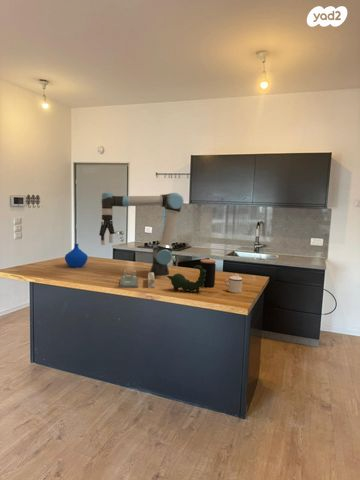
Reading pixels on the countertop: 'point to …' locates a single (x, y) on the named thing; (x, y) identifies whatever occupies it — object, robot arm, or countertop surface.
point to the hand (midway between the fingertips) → (107, 243)
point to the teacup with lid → (234, 284)
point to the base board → (129, 285)
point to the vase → (76, 257)
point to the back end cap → (129, 275)
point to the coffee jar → (209, 272)
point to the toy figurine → (185, 284)
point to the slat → (151, 280)
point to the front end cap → (128, 281)
